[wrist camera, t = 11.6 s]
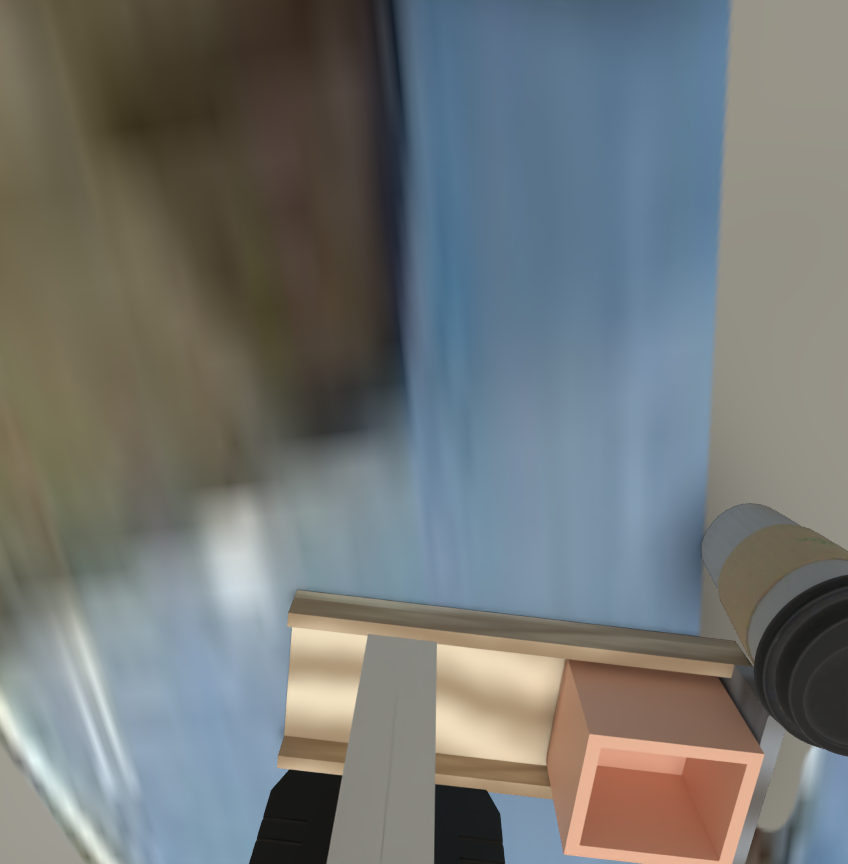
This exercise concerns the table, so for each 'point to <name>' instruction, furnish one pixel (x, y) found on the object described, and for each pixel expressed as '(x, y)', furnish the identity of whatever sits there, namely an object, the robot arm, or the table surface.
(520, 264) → the table surface
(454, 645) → the bay
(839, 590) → the coffee cup
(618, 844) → the box
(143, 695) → the table surface
